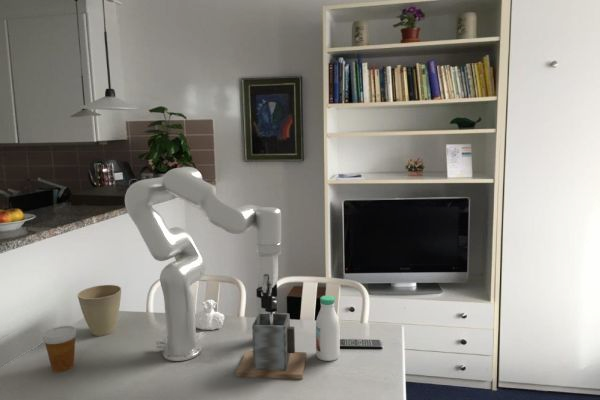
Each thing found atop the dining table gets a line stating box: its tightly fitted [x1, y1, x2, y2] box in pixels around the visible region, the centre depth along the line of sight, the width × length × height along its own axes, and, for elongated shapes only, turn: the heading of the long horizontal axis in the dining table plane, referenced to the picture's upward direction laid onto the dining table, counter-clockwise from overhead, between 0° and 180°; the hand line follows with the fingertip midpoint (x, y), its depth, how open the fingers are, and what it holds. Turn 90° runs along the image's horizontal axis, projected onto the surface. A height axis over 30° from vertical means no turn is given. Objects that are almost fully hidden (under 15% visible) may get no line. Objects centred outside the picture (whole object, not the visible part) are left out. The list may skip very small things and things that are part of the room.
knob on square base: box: [265, 297, 278, 325], centre depth 141 cm, size 8×8×17 cm
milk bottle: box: [315, 295, 341, 362], centre depth 148 cm, size 8×8×20 cm
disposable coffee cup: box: [42, 325, 78, 373], centre depth 144 cm, size 10×10×12 cm
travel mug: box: [255, 286, 276, 316], centre depth 160 cm, size 6×7×20 cm
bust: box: [195, 299, 225, 331], centre depth 174 cm, size 12×8×11 cm
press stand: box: [235, 312, 307, 380], centre depth 142 cm, size 20×14×16 cm
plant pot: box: [77, 284, 122, 337], centre depth 170 cm, size 15×15×16 cm
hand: (269, 302), depth 140 cm, fingers open, 9 cm apart
